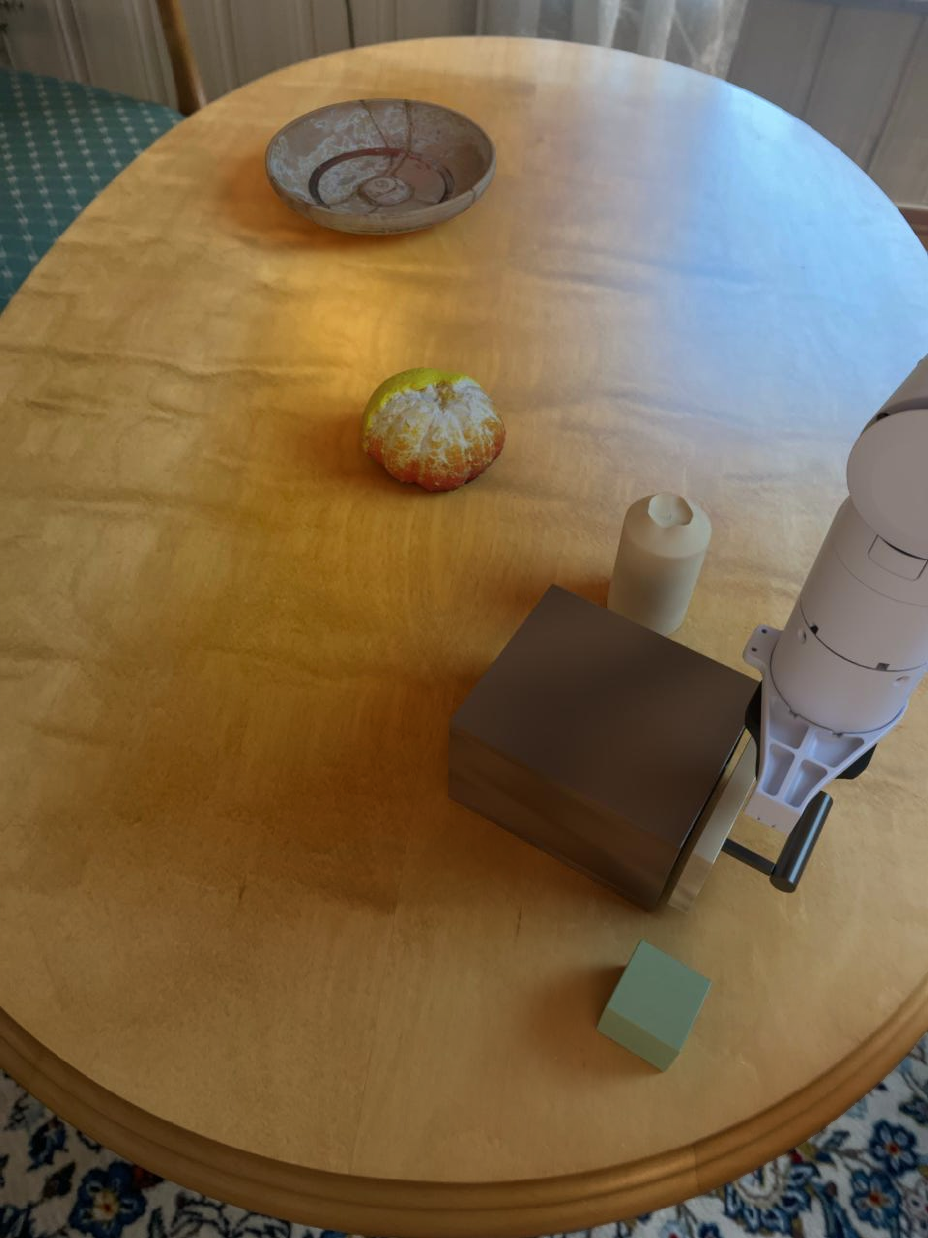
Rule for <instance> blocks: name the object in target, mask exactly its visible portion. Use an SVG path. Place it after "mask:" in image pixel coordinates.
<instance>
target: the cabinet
mask: <svg viewBox="0 0 928 1238" xmlns="http://www.w3.org/2000/svg"><path fill="white" fill-rule="evenodd" d="M760 681H761V680H760ZM760 681H759V680H757V679H756V678H753V677H751V676H749V675H747V674H745V673H743V672H741V671H738V670H736V669H735V668H732V667H731V666H728V665H726V664H725V663H722V662H719V661H718V660H716V659H713V658H711V657H709V656H707V655H705V654H702V653H700V652H698V651H696V650H694V649H692V648H690V647H689V646H687V645H684V644H682V643H680V642H677V641H675V640H673V639H671V638H669V637H668V636H663V635H661V634H659V633H657V632H654V631H652V630H650V629H648V628H646V627H644V626H642V625H640V624H638V623H636V622H633V621H631V620H629V619H627V618H625V617H623V616H621V615H619V614H617V613H615V612H612V611H610V610H608V608H606V607H604V606H602V605H599V604H598V603H596V602H594V601H592V600H589V599H587V598H585V597H583V596H581V595H579V594H577V593H574V592H572V591H570V590H568V589H566V588H564V587H562V586H560V585H558V584H555V583H551V585H550V586H549V588H548V589H547V590H546V591H545V593H544V594H543V595H542V597H541V598H540V599H539V601H538V602H537V603H536V605H535V606H534V608H533V609H532V610H531V611H530V613H529V614H528V615H527V616H526V618H525V619H524V621H523V622H522V623H521V624H520V626H519V627H518V629H517V630H516V631H515V632H514V634H513V635H512V636H511V638H510V639H509V640H508V642H507V643H506V645H505V646H504V647H503V648H502V650H501V651H500V652H499V654H498V655H497V656H496V658H495V659H494V661H493V662H492V663H491V664H490V666H489V667H488V668H487V670H486V671H485V672H484V673H483V675H482V676H481V678H480V679H479V680H478V681H477V683H476V684H475V685H474V686H473V689H472V690H471V691H470V693H468V695H467V696H466V697H465V699H464V700H463V702H462V703H461V704H460V706H458V708H457V710H456V711H455V712H454V713H453V715H451V717H450V719H449V720H448V760H447V761H448V762H447V763H448V766H447V768H448V769H447V770H448V773H447V776H448V777H447V779H448V780H447V797H448V798H450V799H451V800H454V801H455V802H457V803H458V804H460V805H462V806H463V807H465V808H467V809H469V810H471V811H472V812H474V813H476V814H478V816H481V817H483V818H484V819H486V820H488V821H490V822H491V823H493V824H495V825H497V826H499V828H502V829H504V830H505V831H507V832H508V833H511V834H512V835H514V836H516V837H517V838H518V839H519V838H520V839H521V840H523V841H524V842H526V843H528V844H529V845H531V846H533V847H535V848H536V849H538V850H540V851H542V852H544V853H545V854H547V855H549V856H551V858H554V859H555V860H558V861H559V862H560V863H563V864H564V865H566V866H568V867H570V868H571V869H573V870H574V871H576V872H578V873H580V874H582V875H583V876H585V877H587V878H588V879H590V880H592V881H594V882H596V883H597V884H599V885H601V886H602V887H604V888H606V889H608V890H609V891H611V892H613V893H614V894H616V895H618V896H619V897H621V898H623V899H625V900H626V901H628V902H630V903H632V904H633V905H635V906H637V907H639V909H642V910H644V911H646V912H647V913H649V914H653V912H654V909H655V908H656V906H657V904H658V902H659V899H660V898H661V896H662V894H663V892H664V890H665V889H666V887H667V885H668V882H669V881H670V879H671V877H672V875H673V873H674V871H675V869H676V867H677V865H678V863H679V862H680V859H681V858H682V855H683V854H684V852H685V850H686V848H687V846H688V844H689V842H690V840H691V838H692V837H693V835H694V833H695V831H696V829H697V827H698V825H699V823H700V821H701V819H702V818H703V816H704V814H705V811H706V810H707V808H708V806H709V804H710V802H711V800H712V798H713V796H714V794H715V792H716V791H717V788H718V787H719V785H720V783H721V781H722V779H723V777H724V775H725V773H726V771H727V769H728V768H729V765H730V764H731V761H732V759H733V757H734V755H735V753H736V751H737V749H738V747H739V745H740V743H741V740H742V738H743V736H744V735H745V732H746V730H747V729H746V727H745V713H746V709H747V706H748V704H749V702H750V700H751V698H752V696H753V695H754V693H755V691H756V689H757V687H758V685H759V683H760Z"/></svg>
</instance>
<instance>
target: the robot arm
mask: <svg viewBox="0 0 928 1238" xmlns="http://www.w3.org/2000/svg"><path fill="white" fill-rule="evenodd" d="M845 471H846V472H845V475H846V477H845V478H846V486H847V490H848V496H847V497H846V498H845V499H844V501H842V503H841V504H840V505H839V507H838V509H837V511H836V513H835V515H834V518H833V519H832V522H831V524H830V526H829V529H828V530H827V533H826V535H825V537H824V539H823V542H822V544H821V546H820V549H819V550H818V552H817V554H816V557H815V559H814V561H813V564H812V566H811V568H810V570H809V573H807V574H808V575H807V576H806V579H805V581H804V583H803V586H802V588H801V590H800V592H799V594H798V597H797V599H796V601H795V602H794V606H793V608H792V610H791V612H790V615H789V617H788V619H787V621H786V623H785V625H784V627H783V629H777V628H775V627H773V626H770V625H767V624H761V625H760V624H759V625H757V627H755V628H754V630H753V632H752V634H751V635H750V637H749V639H748V641H747V642H746V644H745V647H744V649H743V652H742V656H741V657H742V660H743V661H744V662H745V664H747V665H749V666H750V667H753V668H754V669H756V670H758V672H759V673H760V674H761V680H760V683H759V685H758V687H757V689H756V691H755V693H754V695H753V696H752V698H751V700H750V702H749V704H748V706H747V709H746V713H745V727H746V730H747V731H748V733H749V734H750V736H751V735H752V737H753V739H754V741H755V743H756V765H755V776H756V780H755V781H756V782H755V783H754V784H755V785H754V786H753V790H752V791H751V794H750V796H749V798H748V799H747V802H746V804H745V805H744V807H743V809H742V813H743V814H744V815H746V816H747V817H750V818H752V819H754V820H756V821H757V822H758V823H760V824H761V825H765V826H766V827H768V828H769V829H772V830H775V831H776V832H778V833H780V834H782V835H784V836H786V837H788V836H789V834H790V832H791V831H792V829H793V828H794V826H795V825H796V823H797V821H798V820H799V818H800V817H801V815H802V813H803V811H804V809H805V808H806V806H807V804H808V803H809V802H810V800H811V799H812V798H813V797H814V796H815V795H816V794H817V793H818V792H819V791H820V790H823V789H824V788H825V787H827V786H828V785H829V784H830V783H831V782H833V780H848V781H849V780H851V781H853V780H855V779H857V778H858V777H859V776H861V774H863V773H864V772H865V771H866V769H867V768H868V767H869V765H870V762H871V760H872V758H873V755H874V753H875V750H876V749H877V746H878V744H879V742H880V741H881V740H883V738H885V737H886V736H888V735H889V733H891V731H892V730H894V729H895V727H896V726H897V725H898V724H899V722H900V721H901V719H902V718H903V716H904V715H905V713H906V711H907V710H908V709H907V708H908V705H909V701H910V697H911V696H912V694H913V693H914V691H915V690H916V688H917V687H918V685H919V684H920V683H921V681H922V679H923V678H924V677H925V675H927V673H928V353H926V354H925V356H923V358H921V359H919V360H918V362H917V364H916V366H915V367H914V368H913V369H912V370H911V372H910V373H909V374H908V375H907V377H905V379H904V380H903V381H902V382H901V383H900V384H899V386H898V387H897V388H896V389H895V390H894V392H893V393H892V394H891V395H890V396H889V397H888V398H887V399H886V401H885V402H884V404H882V405H881V407H880V408H879V409H878V410H877V411H876V412H875V414H874V415H873V416H872V417H871V419H869V421H868V422H866V425H864V427H863V429H862V430H861V432H860V434H859V436H858V437H857V439H856V441H855V442H854V444H853V446H852V448H851V450H850V452H849V455H848V458H847V462H846V470H845Z"/></svg>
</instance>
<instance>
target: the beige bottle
mask: <svg viewBox="0 0 928 1238" xmlns="http://www.w3.org/2000/svg"><path fill="white" fill-rule="evenodd" d="M623 518H624V519H623V524H622V528H621V532H620V537H619V541H618V546H617V552H616V555H615V561H614V566H613V569H612V574H611V579H610V584H609V588H608V593H607V600H606V605H607V606H606V607H607V608H606V609H608V610H610V611H612V612H615V613H617V614H619V615H621V616H623V617H625V618H627V619H629V620H631V621H633V622H636V623H638V624H640V625H642V626H644V627H646V628H648V629H650V630H652V631H654V632H657V633H659V634H661V635H663V636H665V637H668V636H670V635H672V634H673V633H675V632H676V631H677V630H679V628H680V627H681V626H682V624H683V622H684V620H685V619H686V618H685V617H686V615H687V613H688V609H689V606H690V603H691V600H692V597H693V593H694V591H695V587H696V585H697V581H698V578H699V575H700V572H701V568H702V566H703V562H704V560H705V557H706V554H707V550H708V548H709V544H710V541H711V537H712V531H713V529H712V524H711V521H710V519H709V517H708V515H707V514H706V513H705V511H704V510H703V509H702V508H700V506H698V505H697V504H696V503H694V502H693V501H691V500H689V499H688V498H686V497H683V496H681V495H679V494H677V493H675V492H672V491H662V492H660V493H656V494H652V495H647V496H644V497H641V498H640V499H637V500H635V502H633V503H632V504H630V506H629V507H628V508H627V511H626V512H625V515H624V517H623Z"/></svg>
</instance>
